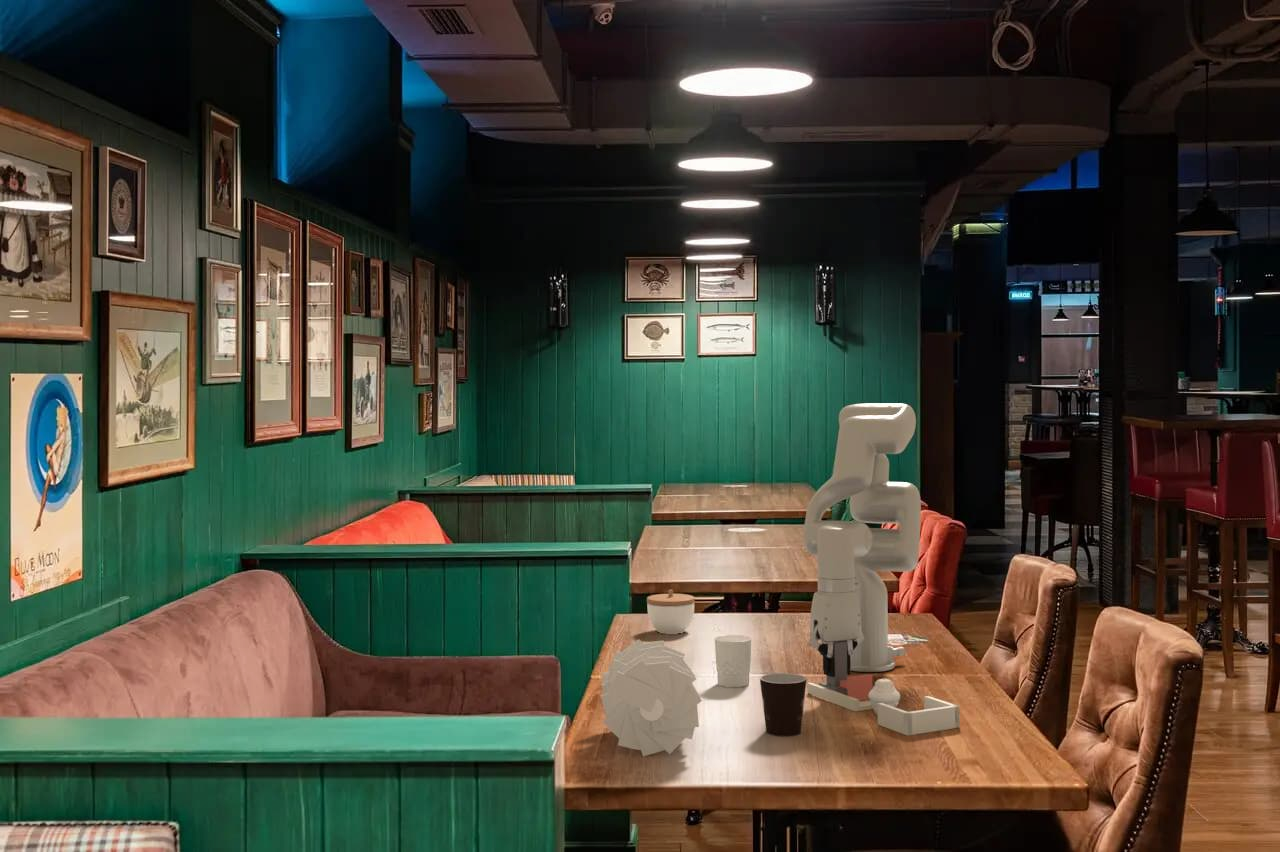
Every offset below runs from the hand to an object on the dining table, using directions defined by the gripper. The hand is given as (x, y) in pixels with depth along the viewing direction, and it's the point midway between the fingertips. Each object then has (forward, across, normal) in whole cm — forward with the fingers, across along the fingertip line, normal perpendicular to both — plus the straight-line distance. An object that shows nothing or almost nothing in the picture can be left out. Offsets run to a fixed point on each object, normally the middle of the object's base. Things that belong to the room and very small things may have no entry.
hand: (836, 673), depth 266 cm
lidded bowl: (+5, -3, -80) cm, 80 cm away
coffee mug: (+5, +23, +17) cm, 29 cm away
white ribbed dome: (+5, 0, +16) cm, 17 cm away
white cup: (+5, +13, -20) cm, 24 cm away
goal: (+5, 0, +26) cm, 27 cm away
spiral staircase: (+5, +49, +12) cm, 51 cm away
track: (+5, 0, +4) cm, 6 cm away
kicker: (+4, 0, +3) cm, 5 cm away
